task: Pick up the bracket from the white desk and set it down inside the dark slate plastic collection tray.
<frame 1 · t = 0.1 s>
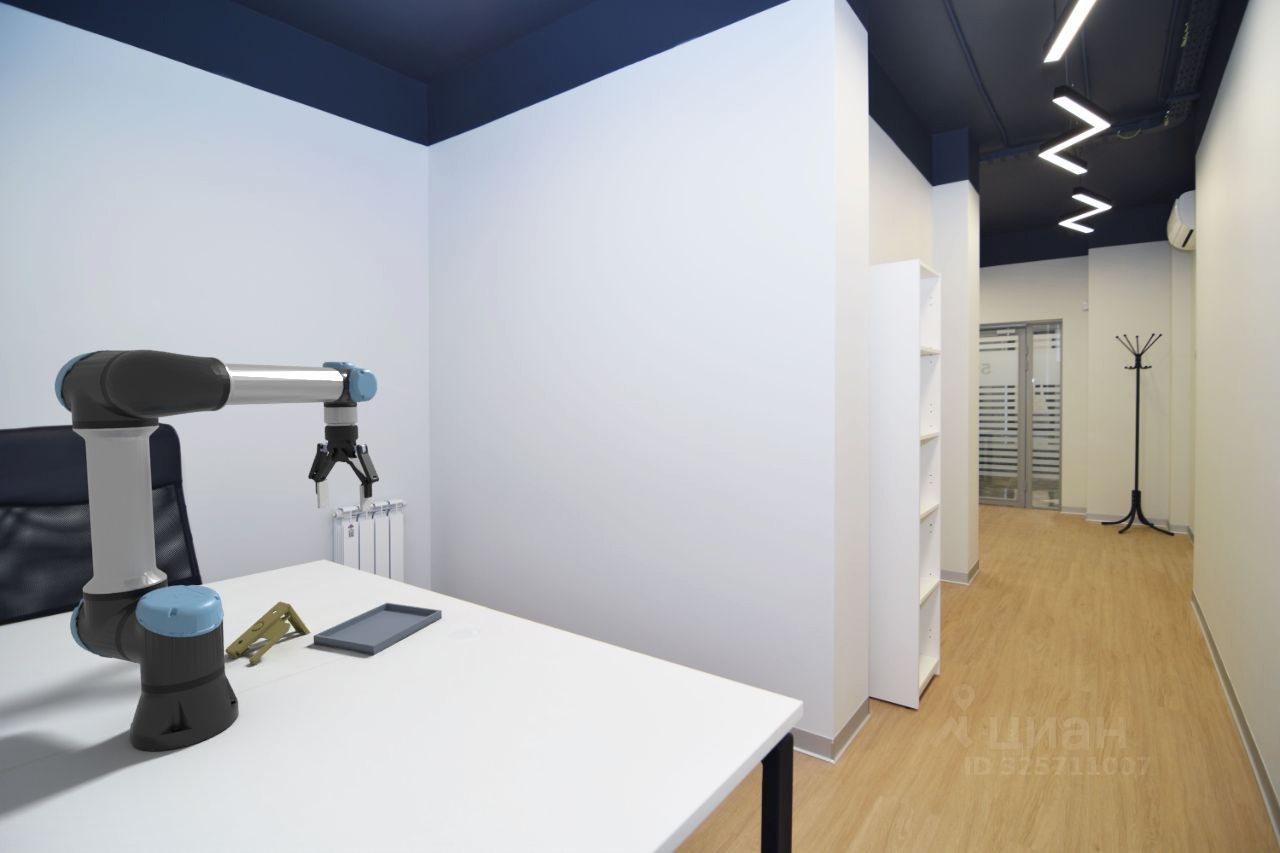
hand: (344, 509, 157), 28 cm above the table, fingers open, 13 cm apart
tray: (381, 630, 151), on the table
bracket: (278, 649, 142), on the table
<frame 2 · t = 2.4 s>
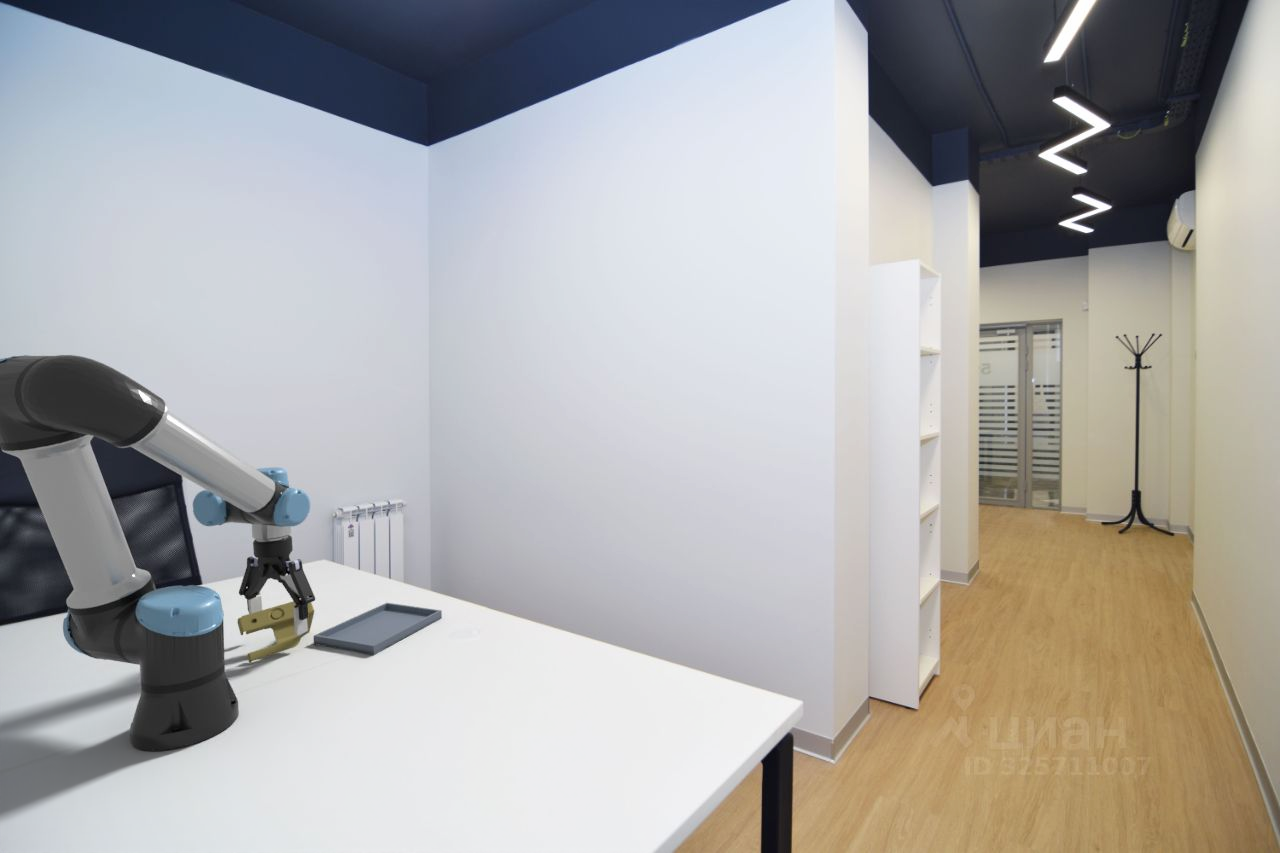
hand: (278, 629, 142), 4 cm above the table, fingers open, 13 cm apart
bracket: (276, 640, 142), point 1 cm above the table, touching gripper
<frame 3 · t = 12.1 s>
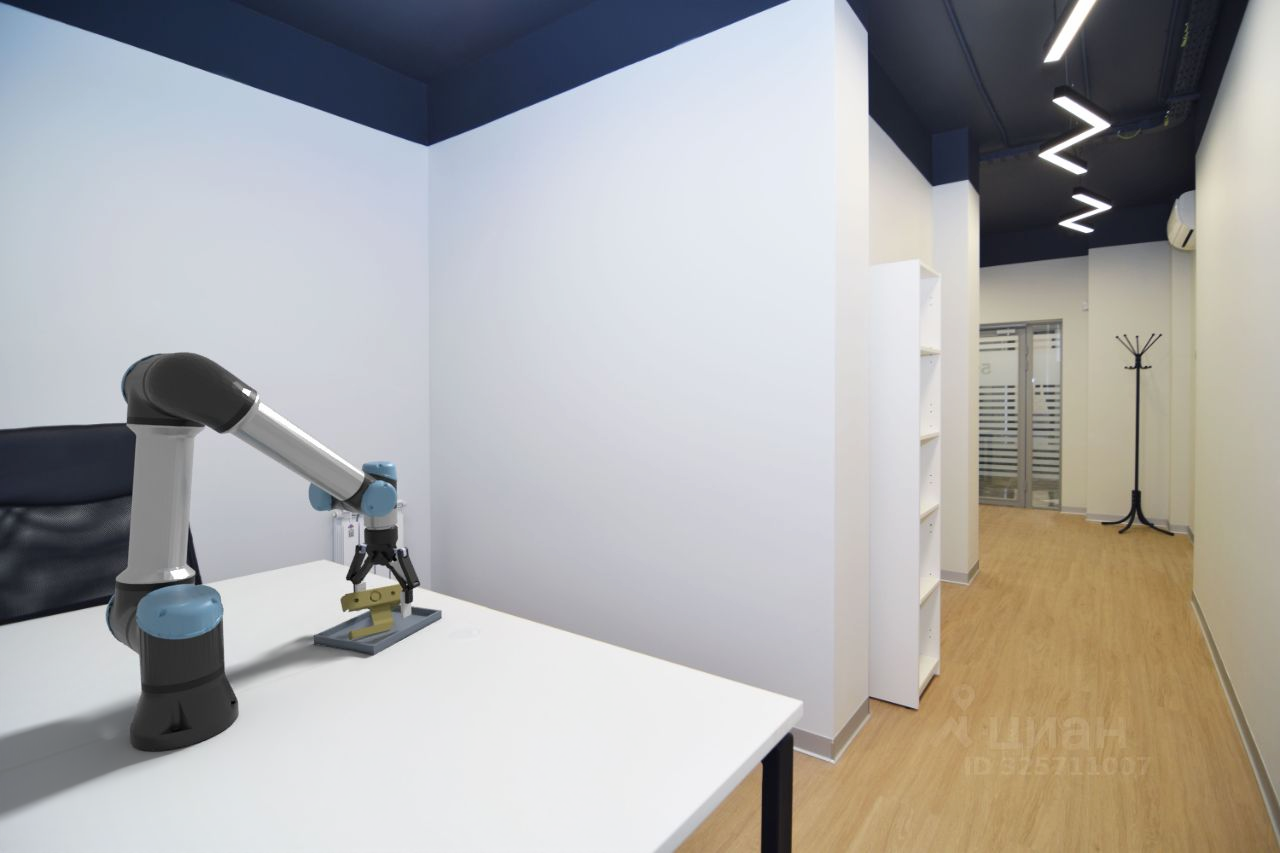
hand: (383, 612, 152), 4 cm above the table, fingers open, 13 cm apart
bracket: (366, 618, 152), point 2 cm above the table, touching tray
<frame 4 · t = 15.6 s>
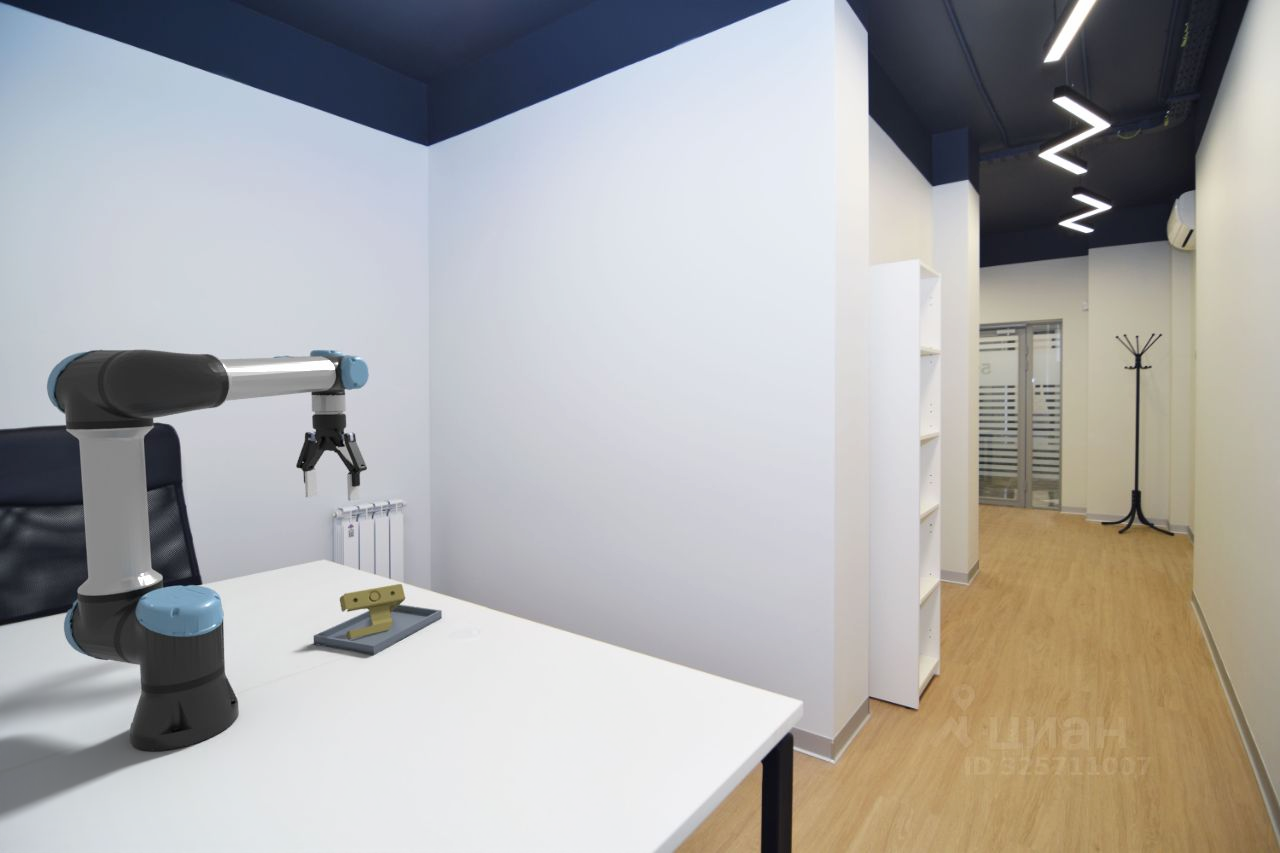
hand: (332, 498, 157), 31 cm above the table, fingers open, 13 cm apart
nothing on the table moved.
at the end: bracket inside the target area on the tray (4.6 cm from its centre), point 2.3 cm above the tray's base; bracket touching tray; the gripper is holding nothing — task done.
